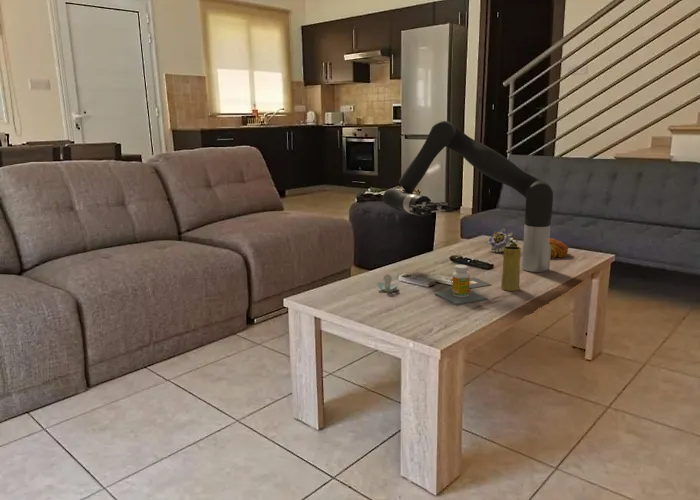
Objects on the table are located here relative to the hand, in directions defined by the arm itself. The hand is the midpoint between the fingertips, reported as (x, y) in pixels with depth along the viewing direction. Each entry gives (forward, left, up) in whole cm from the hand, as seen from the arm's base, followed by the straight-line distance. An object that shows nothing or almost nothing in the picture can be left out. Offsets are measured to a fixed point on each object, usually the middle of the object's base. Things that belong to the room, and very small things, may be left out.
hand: (441, 210), depth 187 cm
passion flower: (-49, -27, -26) cm, 62 cm away
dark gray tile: (-9, +6, -26) cm, 28 cm away
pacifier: (+21, 0, -26) cm, 33 cm away
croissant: (-62, -12, -26) cm, 69 cm away
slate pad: (+3, +17, -26) cm, 31 cm away
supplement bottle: (+3, +17, -25) cm, 31 cm away
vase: (-17, +17, -26) cm, 35 cm away
